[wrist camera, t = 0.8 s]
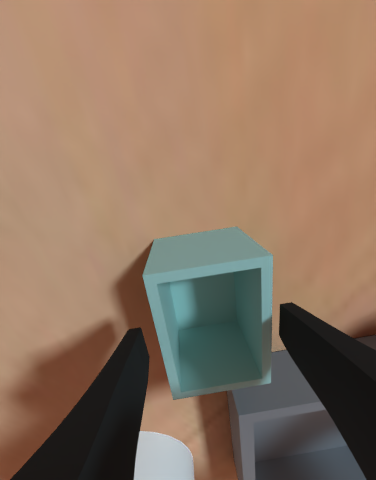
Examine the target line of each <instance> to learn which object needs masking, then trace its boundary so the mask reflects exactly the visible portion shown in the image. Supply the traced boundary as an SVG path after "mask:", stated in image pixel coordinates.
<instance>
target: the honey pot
mask: <svg viewBox="0 0 376 480" xmlns="http://www.w3.org/2000/svg"><path fill="white" fill-rule="evenodd" d="M134 480H194V467H193V456H192V454H191V452H190V450H189V448H188V447H187V446H185V445H184V444H183V443H182V442H181V441H179V440H177V439H175V438H173V437H171V436H168V435H164V434H160V433H156V432H146V431H140V432H139V438H138V445H137V453H136V461H135V472H134Z"/></svg>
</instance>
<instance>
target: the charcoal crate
mask: <svg viewBox="0 0 376 480" xmlns="http://www.w3.org/2000/svg"><path fill="white" fill-rule="evenodd" d="M355 339H356V340H357V341H359V342H361V343H363V344H365V345H367V346H369V347H371V348H372V349H374V350H376V335H373V336H367V337H361V338H355ZM227 397H228V407H229V416H230V426H231V436H232V446H233V456H234V463H235V467H236V472H237V477H238V480H366V478H365V476H364V474H363V472H362V471H361V469H360V467H359V465H358V463H357V462H356V460H355V458H354V456H353V454H352V453H351V451H350V449H349V447H348V446H347V444H346V442H345V440H344V439H343V437H342V435H341V433H340V432H339V430H338V428H337V427H336V425H335V423H334V421H333V420H332V418H331V417H330V415H329V413H328V412H327V410H326V409H325V407H324V406H323V404H322V403H321V401H320V400H319V398H318V397H317V395H316V394H315V392H314V391H313V389H312V388H311V386H310V385H309V383H308V382H307V380H306V379H305V378H304V376H303V375H302V373H301V372H300V370H299V369H298V367H297V366H296V364H295V363H294V361H293V360H292V358H291V356H290V355H289V353H288V351H287V350H283V351H277V352H271V383H269V384H263V385H257V386H251V387H246V388H240V389H234V390H228V391H227Z"/></svg>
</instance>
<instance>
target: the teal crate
mask: <svg viewBox="0 0 376 480" xmlns="http://www.w3.org/2000/svg"><path fill="white" fill-rule="evenodd" d="M272 273H273V255H272V254H271V253H269V252H268V251H267V250H266V249H264V248H263V247H262V246H260V245H259V244H258V243H257V242H255V241H254V240H253V239H252V238H250V237H249V236H248V235H247V234H245V233H244V232H243V231H242V230H240V229H239V228H238V227H231V228H224V229H218V230H211V231H205V232H198V233H192V234H185V235H179V236H172V237H166V238H159V239H154V242H153V245H152V248H151V251H150V254H149V257H148V260H147V263H146V266H145V269H144V272H143V275H142V276H143V280H144V284H145V288H146V292H147V296H148V300H149V304H150V308H151V312H152V316H153V320H154V324H155V328H156V332H157V336H158V340H159V344H160V348H161V352H162V356H163V360H164V364H165V368H166V372H167V376H168V380H169V384H170V388H171V392H172V396H173V400H176V399H182V398H187V397H193V396H199V395H205V394H211V393H216V392H222V391H228V390H234V389H240V388H246V387H251V386H257V385H263V384H269V383H271V346H272Z"/></svg>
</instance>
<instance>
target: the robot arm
mask: <svg viewBox="0 0 376 480" xmlns="http://www.w3.org/2000/svg"><path fill="white" fill-rule="evenodd" d="M279 336H280V338H281V340H282V342H283V344H284V346H285V347H286V349H287V351H288V353H289V355H290V356H291V358H292V360H293V361H294V363H295V364H296V366H297V367H298V369H299V370H300V372H301V373H302V375H303V376H304V378H305V379H306V380H307V382H308V383H309V385H310V386H311V388H312V389H313V391H314V392H315V394H316V395H317V397H318V398H319V400H320V401H321V403H322V404H323V406H324V407H325V409H326V410H327V412H328V413H329V415H330V417H331V418H332V420H333V421H334V423H335V425H336V427H337V428H338V430H339V432H340V433H341V435H342V437H343V439H344V440H345V442H346V444H347V446H348V447H349V449H350V451H351V453H352V454H353V456H354V458H355V460H356V462H357V463H358V465H359V467H360V469H361V471H362V472H363V474H364V476H365V478H366V480H376V350H374V349H372V348H371V347H369V346H367V345H365V344H363V343H361V342H359V341H357V340H356V339H354V338H352V337H350V336H348V335H346V334H345V333H343V332H341V331H339V330H338V329H336V328H334V327H332V326H331V325H329V324H327V323H326V322H324V321H322V320H321V319H319V318H317V317H316V316H314V315H312V314H311V313H309V312H307V311H306V310H304V309H302V308H301V307H299V306H297V305H295V304H294V303H292V302H291V303H285V304H280V323H279ZM148 372H149V354H148V351H147V347H146V344H145V340H144V336H143V333H142V329H141V328H135V329H129V330H128V331H127V333H126V334H125V336H124V337H123V339H122V341H121V342H120V344H119V345H118V347H117V348H116V350H115V351H114V353H113V354H112V356H111V357H110V359H109V360H108V362H107V363H106V365H105V366H104V368H103V369H102V370H101V372H100V373H99V375H98V376H97V378H96V379H95V380H94V382H93V383H92V384H91V386H90V387H89V388H88V390H87V391H86V392H85V394H84V395H83V396H82V398H81V399H80V400H79V402H78V403H77V404H76V405H75V407H74V408H73V409H72V410H71V412H70V413H69V414H68V415H67V417H66V418H65V419H64V420H63V421H62V423H61V424H60V425H59V426H58V427H57V429H56V430H55V431H54V432H53V433H52V434H51V435H50V437H49V438H48V439H47V440H46V441H45V442H44V443H43V445H42V446H41V447H40V448H39V449H38V450H37V451H36V452H35V453H34V454H33V456H32V457H31V458H30V459H29V460H28V461H27V462H26V463H25V464H24V465H23V467H22V468H21V469H20V470H19V471H18V472H17V473H16V474H15V475H14V476H13V477H12V478H11V479H10V480H134V472H135V461H136V453H137V445H138V438H139V432H140V426H141V420H142V414H143V408H144V402H145V396H146V389H147V383H148Z"/></svg>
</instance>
